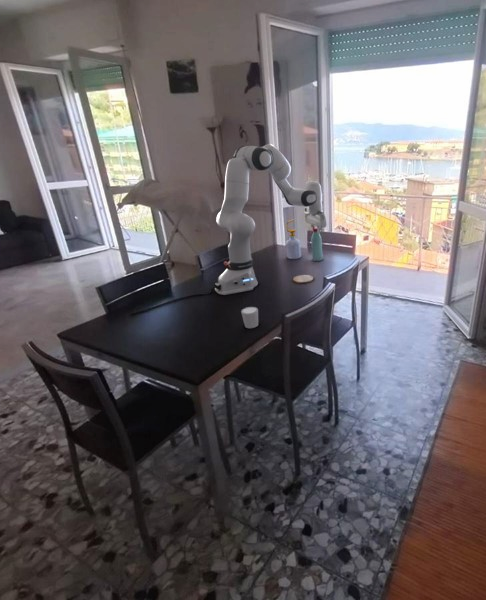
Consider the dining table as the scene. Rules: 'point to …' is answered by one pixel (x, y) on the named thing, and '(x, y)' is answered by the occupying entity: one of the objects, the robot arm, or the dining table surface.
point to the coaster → (303, 279)
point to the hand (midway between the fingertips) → (316, 232)
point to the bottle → (316, 247)
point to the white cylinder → (250, 317)
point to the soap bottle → (293, 245)
